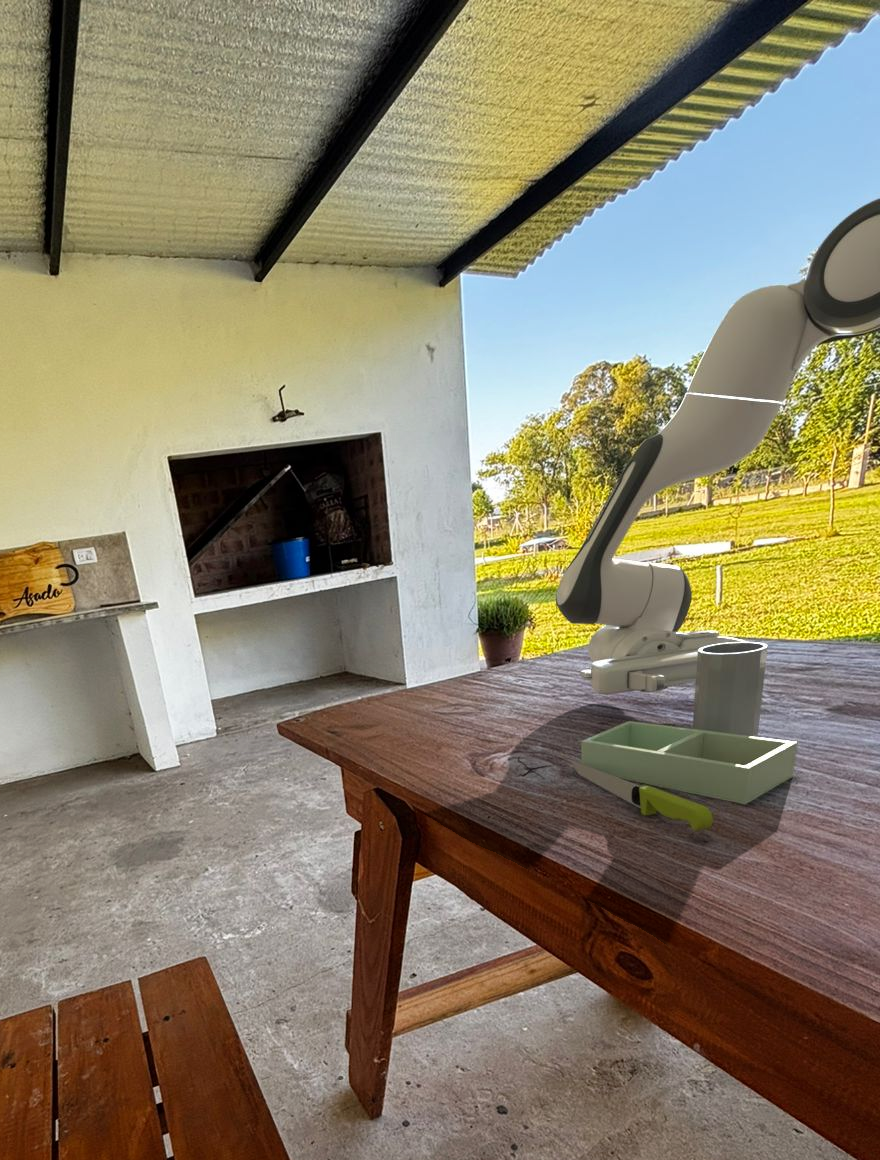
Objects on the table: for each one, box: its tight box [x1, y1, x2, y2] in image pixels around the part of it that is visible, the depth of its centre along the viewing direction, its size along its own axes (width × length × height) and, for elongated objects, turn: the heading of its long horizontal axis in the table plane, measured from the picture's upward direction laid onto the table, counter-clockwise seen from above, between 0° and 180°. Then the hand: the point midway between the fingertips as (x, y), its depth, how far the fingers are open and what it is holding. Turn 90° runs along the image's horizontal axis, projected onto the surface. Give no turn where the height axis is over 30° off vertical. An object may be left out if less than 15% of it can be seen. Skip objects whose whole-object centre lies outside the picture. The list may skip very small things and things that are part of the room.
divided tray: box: [580, 720, 798, 805], centre depth 68 cm, size 9×18×4 cm, turn 30°
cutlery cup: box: [692, 641, 768, 737], centre depth 72 cm, size 6×6×12 cm
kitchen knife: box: [570, 760, 714, 832], centre depth 64 cm, size 22×1×3 cm, turn 5°
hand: (698, 678), depth 78 cm, fingers open, 8 cm apart
